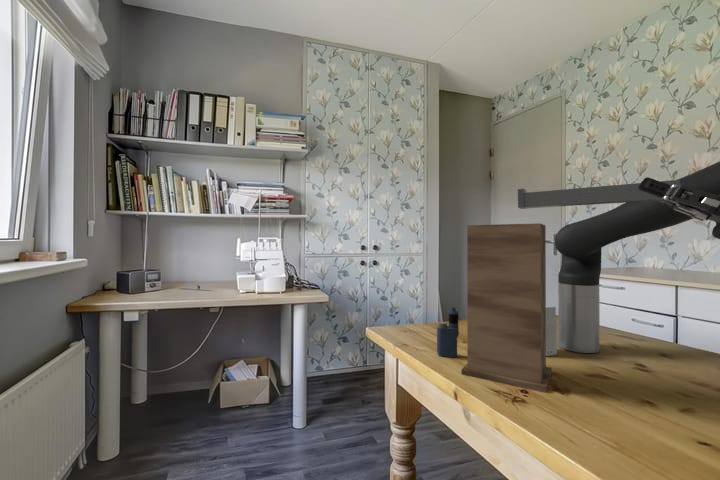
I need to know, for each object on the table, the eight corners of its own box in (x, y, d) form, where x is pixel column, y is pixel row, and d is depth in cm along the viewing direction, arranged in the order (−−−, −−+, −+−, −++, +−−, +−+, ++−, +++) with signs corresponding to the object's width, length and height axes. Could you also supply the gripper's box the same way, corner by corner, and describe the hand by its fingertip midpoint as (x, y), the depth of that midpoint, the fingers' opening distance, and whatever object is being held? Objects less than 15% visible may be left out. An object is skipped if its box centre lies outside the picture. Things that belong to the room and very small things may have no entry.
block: (521, 208, 74) (520, 191, 74) (676, 199, 60) (675, 178, 60) (518, 207, 71) (517, 189, 71) (680, 197, 57) (680, 174, 57)
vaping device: (459, 358, 83) (459, 309, 83) (437, 356, 84) (437, 308, 85) (458, 354, 86) (458, 307, 86) (437, 353, 87) (436, 306, 87)
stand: (476, 358, 83) (476, 227, 83) (551, 372, 74) (551, 225, 75) (461, 374, 73) (461, 225, 73) (545, 392, 64) (545, 223, 65)
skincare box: (558, 354, 86) (557, 306, 86) (544, 356, 84) (544, 307, 84) (537, 347, 92) (537, 302, 92) (524, 349, 90) (524, 303, 90)
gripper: (763, 211, 58) (647, 171, 66) (807, 203, 46) (660, 156, 55) (732, 249, 60) (624, 205, 68) (767, 251, 48) (631, 198, 57)
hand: (640, 184), depth 61 cm, fingers closed on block, 3 cm apart
